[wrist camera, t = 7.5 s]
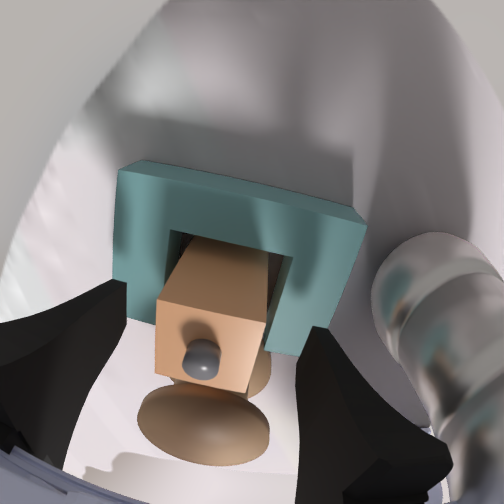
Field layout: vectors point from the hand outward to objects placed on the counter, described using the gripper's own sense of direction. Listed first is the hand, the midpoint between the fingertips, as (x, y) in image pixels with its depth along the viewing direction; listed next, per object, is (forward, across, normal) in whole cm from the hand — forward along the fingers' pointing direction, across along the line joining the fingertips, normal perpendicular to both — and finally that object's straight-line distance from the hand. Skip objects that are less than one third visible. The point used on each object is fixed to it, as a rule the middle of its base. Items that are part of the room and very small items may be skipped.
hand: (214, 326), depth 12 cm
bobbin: (+5, 0, +6) cm, 8 cm away
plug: (+5, 0, 0) cm, 5 cm away
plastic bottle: (+5, -10, -2) cm, 11 cm away
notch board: (+4, 0, -1) cm, 5 cm away
